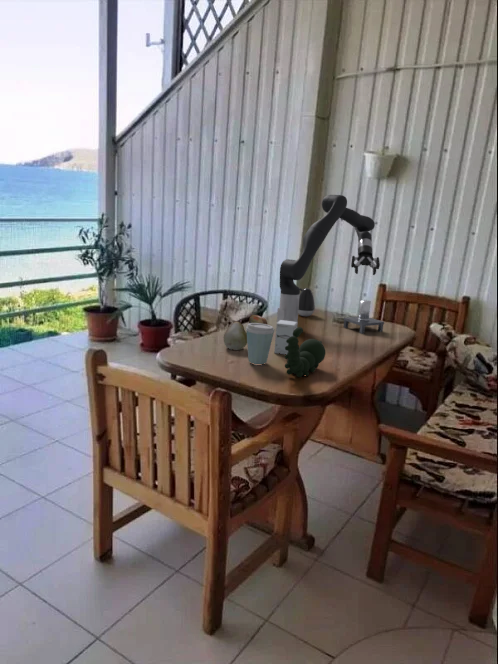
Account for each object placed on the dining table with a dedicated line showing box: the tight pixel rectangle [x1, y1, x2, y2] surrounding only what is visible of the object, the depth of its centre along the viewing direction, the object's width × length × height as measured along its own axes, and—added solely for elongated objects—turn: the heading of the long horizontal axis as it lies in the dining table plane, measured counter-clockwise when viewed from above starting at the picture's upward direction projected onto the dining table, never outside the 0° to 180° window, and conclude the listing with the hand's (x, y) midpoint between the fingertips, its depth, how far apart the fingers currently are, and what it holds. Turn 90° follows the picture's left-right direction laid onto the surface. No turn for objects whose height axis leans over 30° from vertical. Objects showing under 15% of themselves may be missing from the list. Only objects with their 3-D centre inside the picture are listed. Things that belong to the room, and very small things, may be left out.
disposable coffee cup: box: [245, 322, 275, 364], centre depth 187 cm, size 11×11×15 cm
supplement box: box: [273, 320, 298, 355], centre depth 204 cm, size 7×7×13 cm
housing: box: [357, 299, 372, 321], centre depth 251 cm, size 6×6×10 cm
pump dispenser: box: [298, 287, 316, 317], centre depth 278 cm, size 10×10×15 cm
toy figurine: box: [284, 326, 326, 378], centre depth 179 cm, size 10×19×26 cm
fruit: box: [223, 319, 248, 351], centre depth 205 cm, size 10×9×12 cm
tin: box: [248, 314, 269, 325], centre depth 232 cm, size 15×3×8 cm, turn 25°
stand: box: [343, 316, 385, 335], centre depth 253 cm, size 14×14×5 cm
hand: (365, 273), depth 258 cm, fingers open, 8 cm apart
